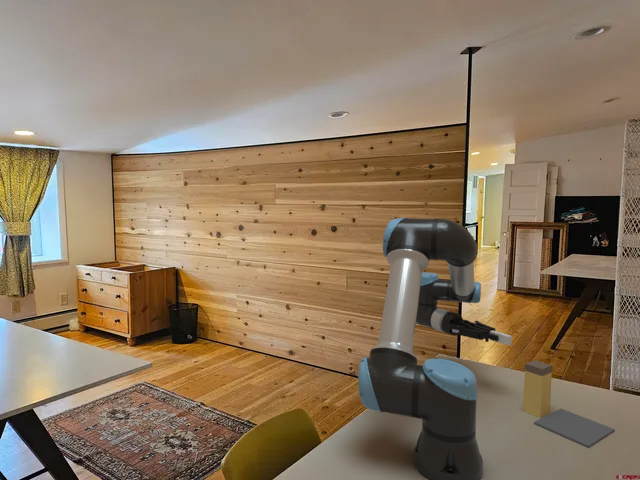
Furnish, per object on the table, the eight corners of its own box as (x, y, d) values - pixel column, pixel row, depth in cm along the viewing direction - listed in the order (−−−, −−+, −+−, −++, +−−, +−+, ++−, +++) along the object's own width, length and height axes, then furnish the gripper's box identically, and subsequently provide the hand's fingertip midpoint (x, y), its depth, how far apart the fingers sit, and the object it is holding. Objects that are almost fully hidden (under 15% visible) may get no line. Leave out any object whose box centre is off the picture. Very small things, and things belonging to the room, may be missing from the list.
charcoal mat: (588, 447, 105) (588, 445, 105) (533, 423, 116) (533, 422, 116) (614, 431, 113) (614, 429, 113) (561, 410, 124) (561, 408, 124)
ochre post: (540, 418, 120) (542, 369, 118) (523, 410, 124) (525, 363, 123) (549, 413, 122) (552, 365, 121) (532, 406, 126) (534, 360, 125)
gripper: (459, 329, 153) (522, 348, 133) (434, 336, 146) (496, 357, 126) (460, 308, 152) (523, 324, 133) (434, 314, 145) (497, 332, 125)
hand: (510, 340), depth 129 cm, fingers closed
